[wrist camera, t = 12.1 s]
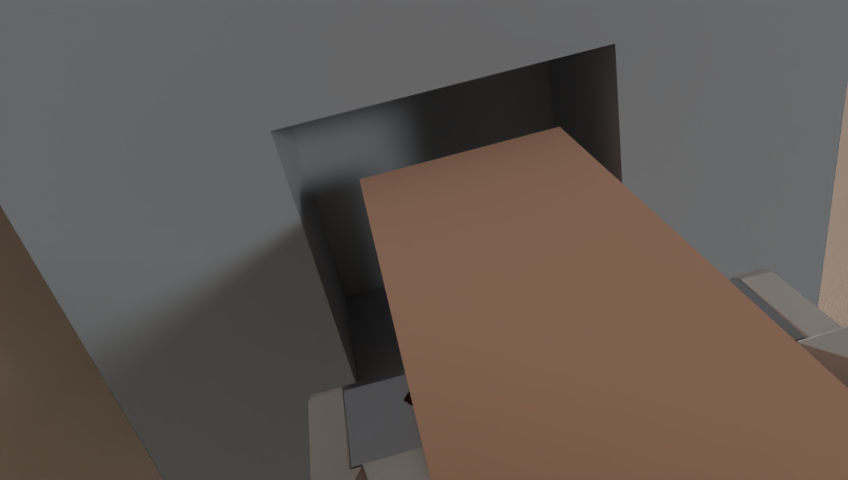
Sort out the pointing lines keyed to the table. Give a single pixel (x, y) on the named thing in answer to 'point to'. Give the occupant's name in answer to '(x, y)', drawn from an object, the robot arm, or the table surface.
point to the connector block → (584, 331)
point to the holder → (368, 171)
